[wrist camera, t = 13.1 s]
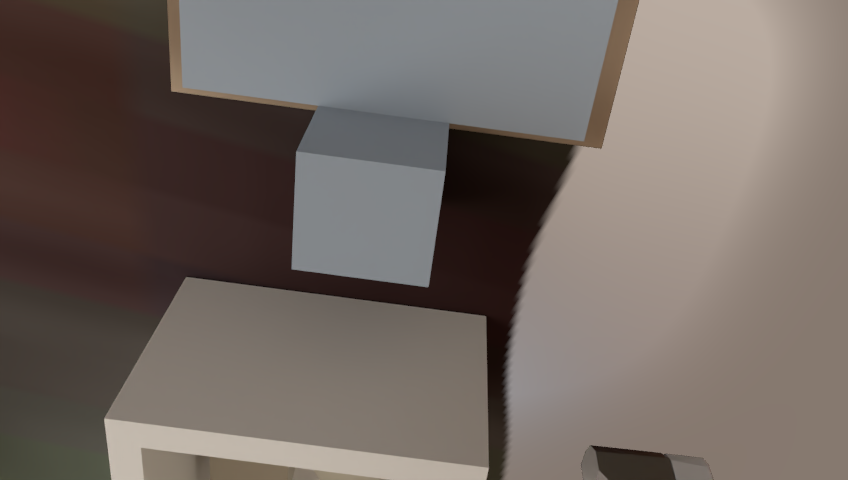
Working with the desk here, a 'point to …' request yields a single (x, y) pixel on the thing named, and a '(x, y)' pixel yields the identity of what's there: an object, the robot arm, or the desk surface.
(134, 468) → the tub
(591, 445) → the robot arm
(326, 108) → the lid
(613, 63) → the pad
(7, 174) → the desk surface
